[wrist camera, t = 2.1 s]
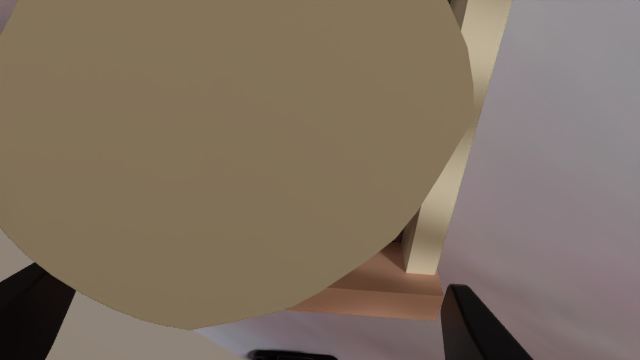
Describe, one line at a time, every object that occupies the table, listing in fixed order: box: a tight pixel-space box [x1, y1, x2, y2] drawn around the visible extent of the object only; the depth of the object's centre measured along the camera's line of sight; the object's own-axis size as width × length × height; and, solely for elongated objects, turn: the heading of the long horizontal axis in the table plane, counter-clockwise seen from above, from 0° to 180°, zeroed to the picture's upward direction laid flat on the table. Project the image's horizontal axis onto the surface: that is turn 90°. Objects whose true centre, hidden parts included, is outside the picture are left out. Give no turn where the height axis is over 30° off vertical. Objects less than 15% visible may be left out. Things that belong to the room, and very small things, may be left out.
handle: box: [0, 0, 474, 330], centre depth 11 cm, size 5×6×15 cm
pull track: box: [284, 0, 512, 321], centre depth 19 cm, size 20×16×4 cm
